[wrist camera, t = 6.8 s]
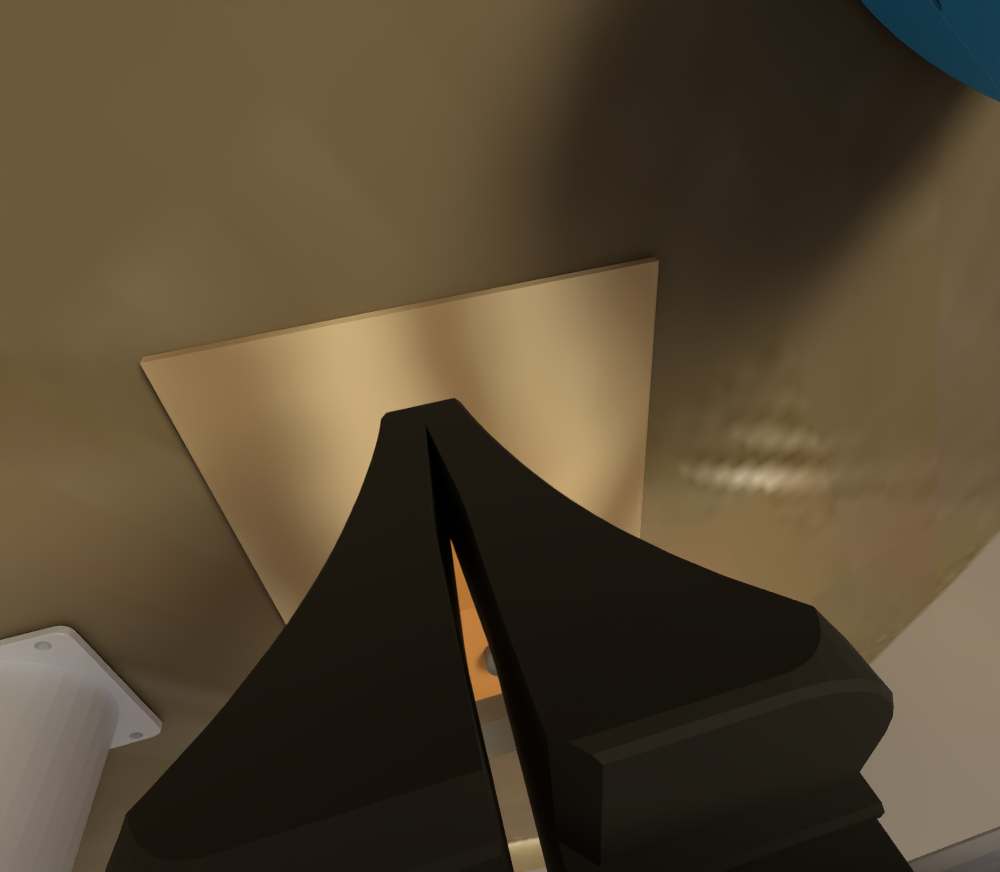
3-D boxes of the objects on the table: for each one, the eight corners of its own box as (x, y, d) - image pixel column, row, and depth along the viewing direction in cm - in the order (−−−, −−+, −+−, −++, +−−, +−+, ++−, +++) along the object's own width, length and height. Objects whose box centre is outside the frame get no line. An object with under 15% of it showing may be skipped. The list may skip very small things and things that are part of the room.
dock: (329, 694, 28) (329, 814, 23) (143, 356, 16) (77, 470, 12) (630, 608, 30) (681, 703, 25) (653, 256, 18) (751, 322, 14)
